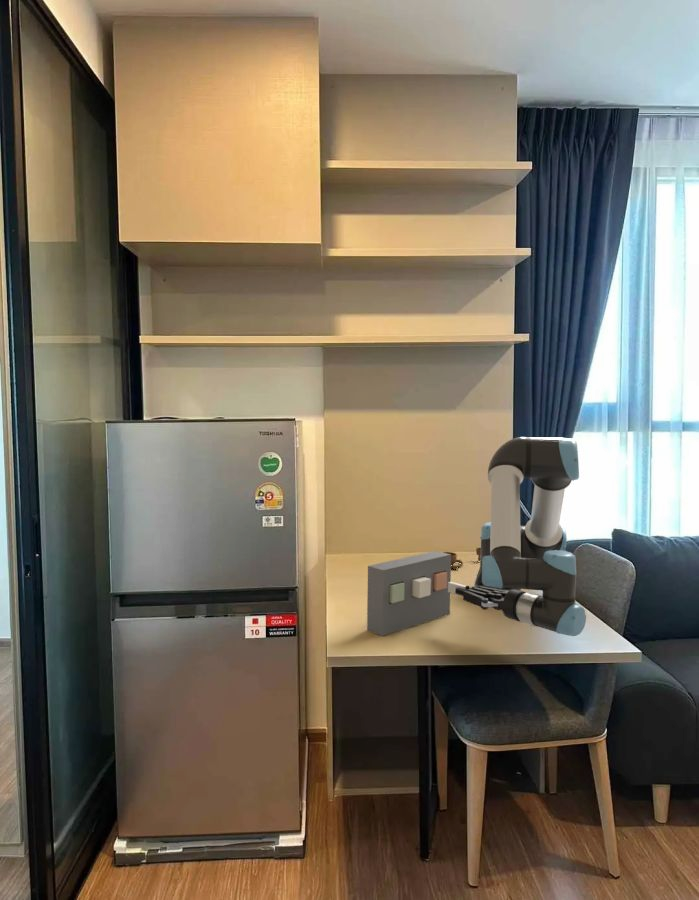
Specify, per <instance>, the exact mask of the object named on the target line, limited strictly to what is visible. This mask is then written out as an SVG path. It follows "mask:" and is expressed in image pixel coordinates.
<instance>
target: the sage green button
mask: <svg viewBox="0 0 699 900" xmlns="http://www.w3.org/2000/svg"><path fill="white" fill-rule="evenodd" d="M402 600H404V583H401V582H397V583H394V584H390V585H389V602H390V603H395V602H399V601H402Z"/></svg>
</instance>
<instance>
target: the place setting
mask: <svg viewBox="0 0 699 900" xmlns="http://www.w3.org/2000/svg"><path fill="white" fill-rule="evenodd" d="M475 551H476V553H475V554H476V555H477V556H478V557H477V560H478V561H480V556H481V547H476V550H475ZM441 552H442V553H447V554H451V565H452V566H451V568H455V569H457V571H459V568H457V567H460V568H462V567H463V565H464V562H463V561H462V560H461V559H457V557H458V556H457V553H455V552H453V551H451V552H449V551H441ZM460 560H461V561H460ZM478 561H477V562H478ZM455 562H459V563H461V564H456V563H455ZM455 564H456V565H455ZM461 566H462V567H461Z"/></svg>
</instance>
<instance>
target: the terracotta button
mask: <svg viewBox="0 0 699 900" xmlns="http://www.w3.org/2000/svg"><path fill="white" fill-rule="evenodd" d="M445 588H447V572H444V571H441V572H437V573H434V574H433V590H435V591H438V590H441V589H445Z"/></svg>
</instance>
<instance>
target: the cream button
mask: <svg viewBox="0 0 699 900" xmlns="http://www.w3.org/2000/svg"><path fill="white" fill-rule="evenodd" d="M429 595H431V579H429V578H426V577H422V576H421V577H417V578H413V579H412V596H414V597H417V598H422V597H425V596H429Z"/></svg>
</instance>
